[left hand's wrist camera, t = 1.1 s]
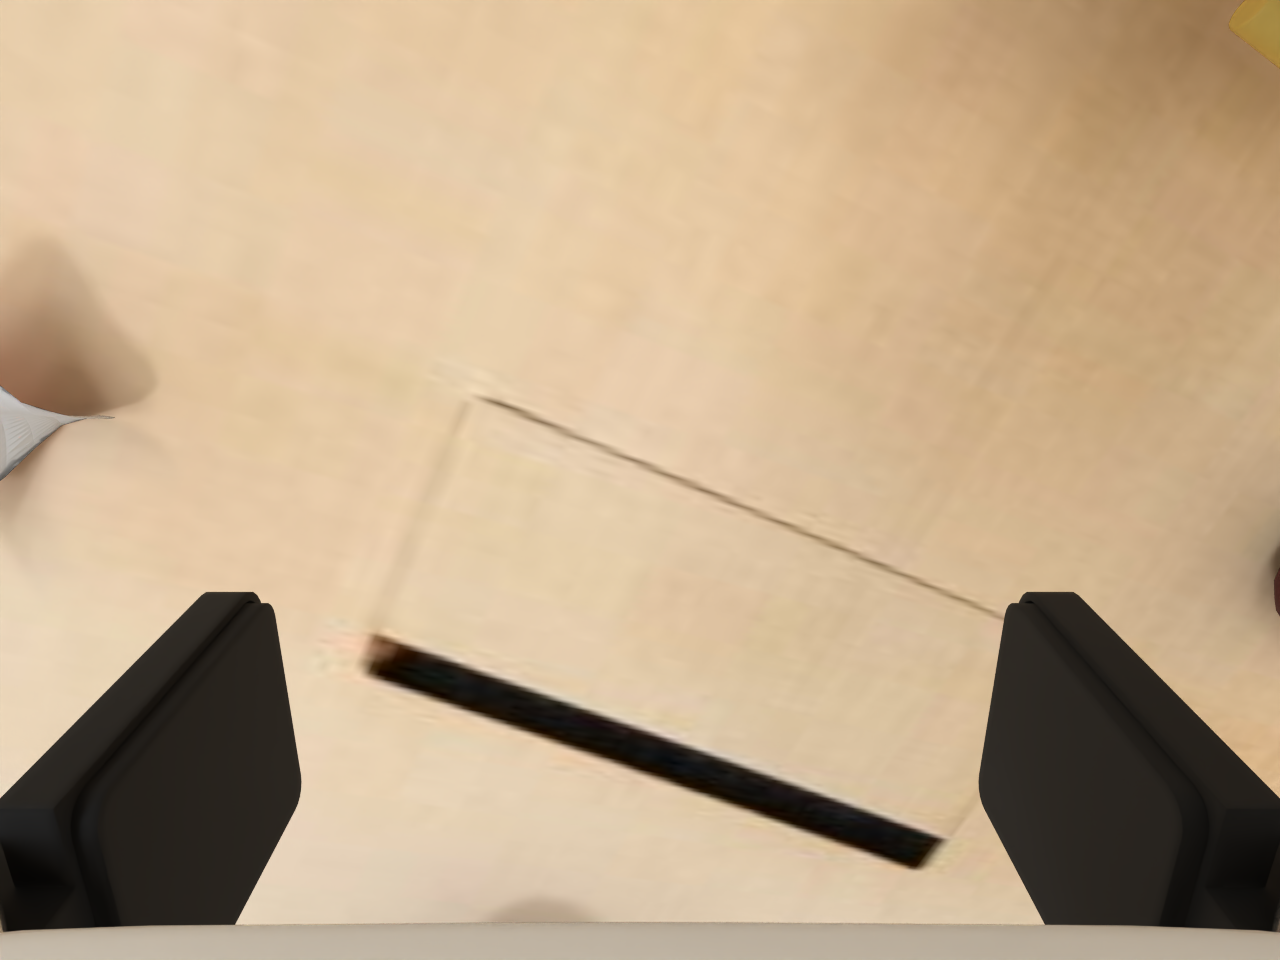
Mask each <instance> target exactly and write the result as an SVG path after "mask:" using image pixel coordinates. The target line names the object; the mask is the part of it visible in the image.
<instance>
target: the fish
mask: <svg viewBox="0 0 1280 960" xmlns="http://www.w3.org/2000/svg"><path fill="white" fill-rule="evenodd" d="M87 418H90V419H110V418H115V417H109V416H100V415H99V416H66V415H62V414H58V413H54V412H50V411H47V410H44V409H41V408H37V407H34V406H31V405H28V404H25V403H21V402H20V401H19V400H18V399H16V398H15V397H14V396H13V395H11V394H10V393H9V392H8V391H6V390H5V389H4V388H3V387H1V386H0V481H1V480H2V479H3V478H4V477H5V476H6V475H7V474H9V473H10V472H11V471H12V470H13V469H14V468H15V467H16V466H17V465H18V464H19V463H20V462H21V461H22V460H23V459H24V458H25V457H26V456H27V455H28V454H29V453H30V452H31V451H32V450H33V449H35V448H36V447H37V446H38V445H39V444H40V443H42V442H43V441H44V440H45V439H46V438H47V437H49V436H50V435H51V434H52V433H53V432H55V431H56V430H57V429H58V428H59V427H60V426H62V425H65V424H68V423H72V422H75V421H79V420H83V419H87Z"/></svg>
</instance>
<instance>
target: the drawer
mask: <svg viewBox="0 0 1280 960" xmlns="http://www.w3.org/2000/svg"><path fill="white" fill-rule="evenodd" d="M1229 28H1230V30H1231V31H1232V32H1234V33H1235V34H1236V35H1237V36H1239V37H1240V38H1241V39H1242V40H1244V41H1245V42H1246V43H1248V44H1249V45H1250V46H1251V47H1253V48H1254V49H1255V50H1257V51H1258V52H1259V53H1260V54H1262V55H1263V56H1264V57H1265V58H1267V59H1268V60H1269V61H1271V62H1272V63H1273V64H1274V65H1276V66H1277V67H1278V68H1280V0H1245V1H1244V2H1243V3H1242V4H1241V5H1240V6H1239V7H1238V9H1237V10H1236V11H1235V13H1234V14H1233V16H1232V18H1231V20H1230V22H1229Z"/></svg>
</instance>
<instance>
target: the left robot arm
mask: <svg viewBox="0 0 1280 960" xmlns="http://www.w3.org/2000/svg"><path fill="white" fill-rule="evenodd" d="M300 792H301V773H300V767H299V760H298V754H297V748H296V742H295V736H294V729H293V723H292V717H291V711H290V705H289V698H288V692H287V686H286V680H285V674H284V667H283V661H282V655H281V649H280V643H279V636H278V630H277V624H276V618H275V613H274V610H273V608H272V606H271V605H270V604H269V603H261V601H260V599H259V598H258V596H257V595H256V594H255V593H254V592H206V593H204V594H203V595H201V596H200V597H199V598H198V599H197V600H196V601H195V602H194V603H193V604H192V605H191V606H190V607H189V608H188V610H187V611H186V612H185V613H184V614H183V615H182V616H181V617H180V618H179V619H178V620H177V621H176V622H175V623H174V624H173V625H172V626H171V627H170V628H169V629H168V630H167V631H166V632H165V633H164V634H163V635H162V636H161V637H160V638H159V639H158V640H157V641H156V642H155V643H154V644H153V645H152V646H151V647H150V648H149V649H148V650H147V651H146V652H145V653H144V654H143V655H142V656H141V657H140V658H139V659H138V660H137V661H136V662H135V663H134V664H133V665H132V666H131V667H130V668H129V669H128V670H127V671H126V672H125V673H124V674H123V675H122V676H121V677H120V678H119V679H118V680H117V681H116V682H115V683H114V684H113V685H112V686H111V687H110V688H109V689H108V690H107V691H106V692H105V693H104V694H103V695H102V696H101V697H100V698H99V699H98V700H97V701H96V702H95V703H94V704H93V705H92V706H91V707H90V708H89V709H88V710H87V711H86V712H85V713H84V714H83V715H82V716H81V717H80V718H79V719H78V720H77V721H76V722H75V723H74V725H73V726H72V727H71V728H70V729H69V730H68V731H67V732H66V733H65V734H64V735H63V736H62V737H61V738H60V739H59V740H58V741H57V742H56V743H55V744H54V745H53V746H52V747H51V748H50V749H49V750H48V751H47V752H46V753H45V754H44V755H43V756H42V757H41V758H40V759H39V760H38V761H37V762H36V763H35V764H34V765H33V766H32V767H31V768H30V769H29V770H28V771H27V772H26V773H25V774H24V775H23V776H22V777H21V778H20V779H19V780H18V781H17V782H16V783H15V784H14V785H13V786H12V787H11V788H10V789H9V790H8V791H7V792H6V793H5V794H4V795H3V796H2V797H1V798H0V960H1280V798H1279V797H1278V796H1277V795H1276V794H1275V793H1274V792H1273V791H1272V790H1271V789H1270V788H1269V787H1268V786H1267V785H1266V784H1265V783H1264V782H1263V781H1262V780H1261V779H1260V778H1259V777H1258V776H1257V775H1256V774H1255V773H1254V772H1253V771H1252V770H1251V769H1250V768H1249V767H1248V766H1247V765H1246V764H1245V763H1244V762H1243V761H1242V760H1241V759H1240V758H1239V757H1238V756H1237V755H1236V754H1235V753H1234V752H1233V751H1232V750H1231V749H1230V748H1229V747H1228V746H1227V745H1226V744H1225V743H1224V742H1223V741H1222V740H1221V739H1220V738H1219V737H1218V736H1217V735H1216V734H1215V733H1214V732H1213V731H1212V730H1211V729H1210V728H1209V727H1208V726H1207V725H1206V723H1205V722H1204V721H1203V720H1202V719H1201V718H1200V717H1199V716H1198V715H1197V714H1196V713H1195V712H1194V711H1193V710H1192V709H1191V708H1190V707H1189V706H1188V705H1187V704H1186V703H1185V702H1184V701H1183V700H1182V699H1181V698H1180V697H1179V696H1178V695H1177V694H1176V693H1175V692H1174V691H1173V690H1172V689H1171V688H1170V687H1169V686H1168V685H1167V684H1166V683H1165V682H1164V681H1163V680H1162V679H1161V678H1160V677H1159V676H1158V675H1157V674H1156V673H1155V672H1154V671H1153V670H1152V669H1151V668H1150V667H1149V666H1148V665H1147V664H1146V663H1145V662H1144V661H1143V660H1142V659H1141V658H1140V657H1139V656H1138V655H1137V654H1136V653H1135V652H1134V651H1133V650H1132V649H1131V648H1130V647H1129V646H1128V645H1127V644H1126V643H1125V642H1124V641H1123V640H1122V639H1121V638H1120V637H1119V636H1118V635H1117V634H1116V633H1115V632H1114V631H1113V630H1112V629H1111V628H1110V627H1109V626H1108V625H1107V624H1106V623H1105V622H1104V621H1103V620H1102V619H1101V618H1100V617H1099V616H1098V615H1097V614H1096V613H1095V612H1094V611H1093V610H1092V608H1091V607H1090V606H1089V605H1088V604H1087V603H1086V602H1085V601H1084V600H1083V599H1082V598H1081V597H1080V596H1079V595H1077V594H1076V593H1074V592H1026V593H1025V594H1024V595H1023V596H1022V598H1021V599H1020V601H1019V603H1011V604H1010V605H1009V606H1008V608H1007V610H1006V613H1005V618H1004V624H1003V630H1002V636H1001V643H1000V649H999V655H998V661H997V667H996V674H995V680H994V686H993V692H992V698H991V705H990V711H989V717H988V723H987V729H986V736H985V742H984V748H983V754H982V760H981V767H980V773H979V792H980V798H981V801H982V804H983V807H984V809H985V811H986V813H987V815H988V817H989V819H990V821H991V823H992V824H993V826H994V828H995V830H996V832H997V834H998V836H999V838H1000V840H1001V842H1002V844H1003V845H1004V847H1005V849H1006V851H1007V853H1008V855H1009V857H1010V859H1011V861H1012V863H1013V864H1014V866H1015V868H1016V870H1017V872H1018V874H1019V876H1020V878H1021V880H1022V882H1023V884H1024V885H1025V887H1026V889H1027V891H1028V893H1029V895H1030V897H1031V899H1032V901H1033V903H1034V904H1035V906H1036V908H1037V910H1038V912H1039V914H1040V916H1041V918H1042V920H1043V922H1044V924H1045V925H998V924H878V923H720V922H593V923H402V924H282V925H235V924H236V922H237V920H238V918H239V916H240V914H241V912H242V910H243V908H244V906H245V904H246V903H247V901H248V899H249V897H250V895H251V893H252V891H253V889H254V887H255V885H256V884H257V882H258V880H259V878H260V876H261V874H262V872H263V870H264V868H265V866H266V864H267V863H268V861H269V859H270V857H271V855H272V853H273V851H274V849H275V847H276V845H277V844H278V842H279V840H280V838H281V836H282V834H283V832H284V830H285V828H286V826H287V824H288V823H289V821H290V819H291V817H292V815H293V813H294V811H295V809H296V807H297V804H298V801H299V798H300Z"/></svg>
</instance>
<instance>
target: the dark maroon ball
mask: <svg viewBox="0 0 1280 960" xmlns="http://www.w3.org/2000/svg"><path fill="white" fill-rule="evenodd" d="M1274 595H1275V605H1276V611H1277V612H1278V614H1279V616H1280V569H1279V571H1278V573H1277V575H1276V578H1275V580H1274Z"/></svg>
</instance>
